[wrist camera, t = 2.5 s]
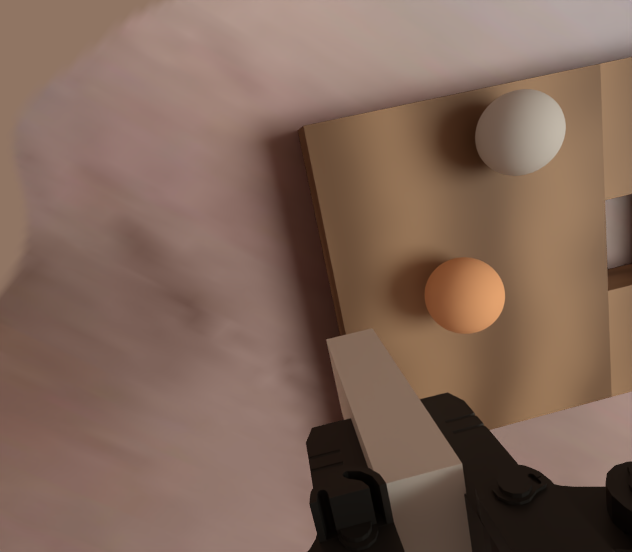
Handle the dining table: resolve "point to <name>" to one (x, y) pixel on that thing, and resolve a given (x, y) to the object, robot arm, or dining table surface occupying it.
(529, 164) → the grey ball
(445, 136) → the board
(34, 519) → the dining table surface
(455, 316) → the ball
